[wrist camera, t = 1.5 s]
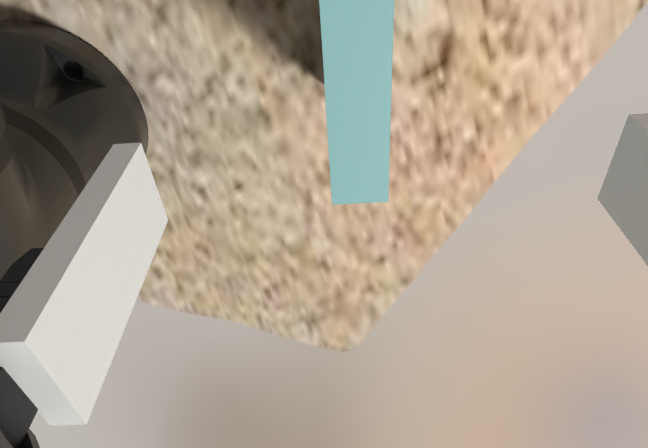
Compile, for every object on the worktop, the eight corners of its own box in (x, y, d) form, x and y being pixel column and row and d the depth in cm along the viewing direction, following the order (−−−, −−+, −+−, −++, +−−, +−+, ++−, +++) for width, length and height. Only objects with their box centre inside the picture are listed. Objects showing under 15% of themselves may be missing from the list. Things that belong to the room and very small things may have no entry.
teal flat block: (367, 86, 37) (388, 201, 26) (329, 88, 37) (332, 204, 26) (366, -184, 27) (399, -195, 15) (313, -180, 27) (307, -187, 16)
